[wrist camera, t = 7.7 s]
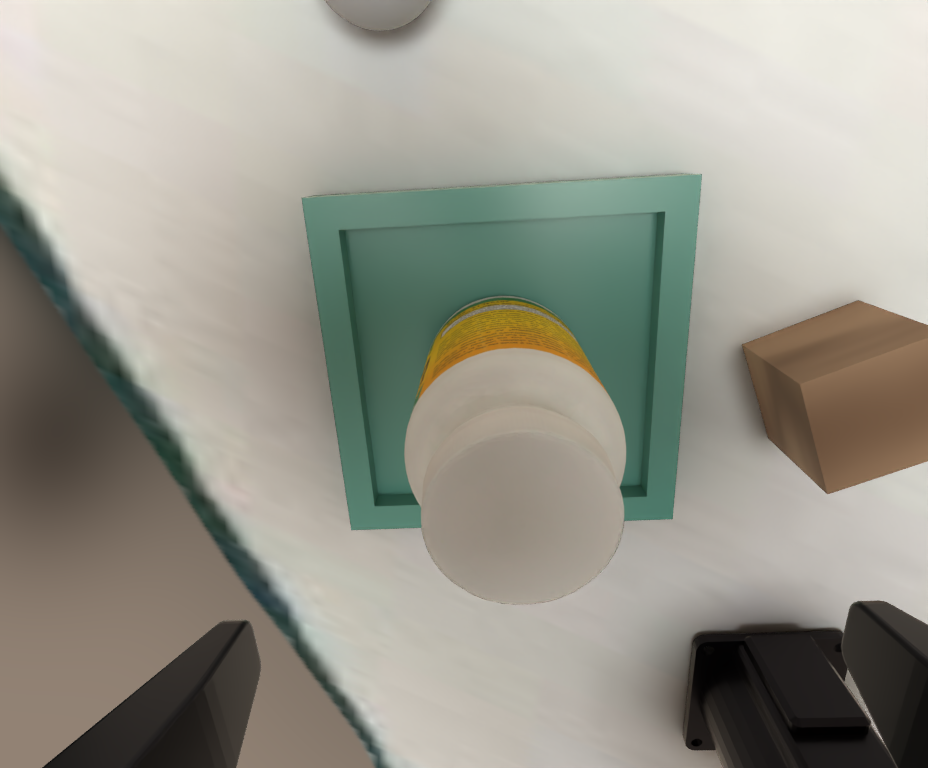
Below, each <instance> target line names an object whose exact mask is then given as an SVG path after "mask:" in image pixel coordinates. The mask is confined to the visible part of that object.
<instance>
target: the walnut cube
mask: <svg viewBox="0 0 928 768" xmlns="http://www.w3.org/2000/svg"><path fill="white" fill-rule="evenodd" d="M742 347H743V350H744V354H745V357H746V361H747V364H748V368H749V371H750V375H751V379H752V382H753V386H754V389H755V393H756V396H757V400H758V403H759V407H760V411H761V414H762V418H763V421H764V425H765V428H766V432H767V435H768V439H770V440H771V441H772V442H773V443H774V444H775V445H776V446H777V447H778V448H779V449H780V450H781V451H782V452H783V453H784V454H785V455H786V456H788V457H789V458H790V459H791V460H792V461H793V462H794V463H795V464H796V465H797V466H798V467H799V468H800V469H801V470H802V471H803V472H804V473H806V474H807V475H808V476H809V477H810V478H811V479H812V480H813V481H814V482H815V483H816V484H817V485H818V486H819V487H820V488H821V489H822V490H824V491H825V492H826V493H827V494H830V493H833V492H836V491H839V490H842V489H845V488H848V487H851V486H854V485H857V484H860V483H863V482H866V481H869V480H872V479H875V478H878V477H881V476H884V475H887V474H890V473H893V472H896V471H899V470H902V469H906V468H909V467H912V466H915V465H918V464H921V463H924V462H927V461H928V325H926V324H923V323H920V322H917V321H914V320H912V319H909V318H906V317H903V316H901V315H898V314H895V313H892V312H889V311H887V310H884V309H881V308H878V307H875V306H873V305H870V304H867V303H864V302H862V301H859V300H858V301H855V302H853V303H850V304H847V305H845V306H842V307H839V308H837V309H834V310H832V311H829V312H826V313H824V314H821V315H818V316H816V317H813V318H811V319H808V320H805V321H803V322H800V323H797V324H795V325H792V326H790V327H787V328H784V329H782V330H779V331H776V332H774V333H771V334H768V335H766V336H763V337H761V338H758V339H755V340H753V341H750V342H747V343H745V344H742Z"/></svg>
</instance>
